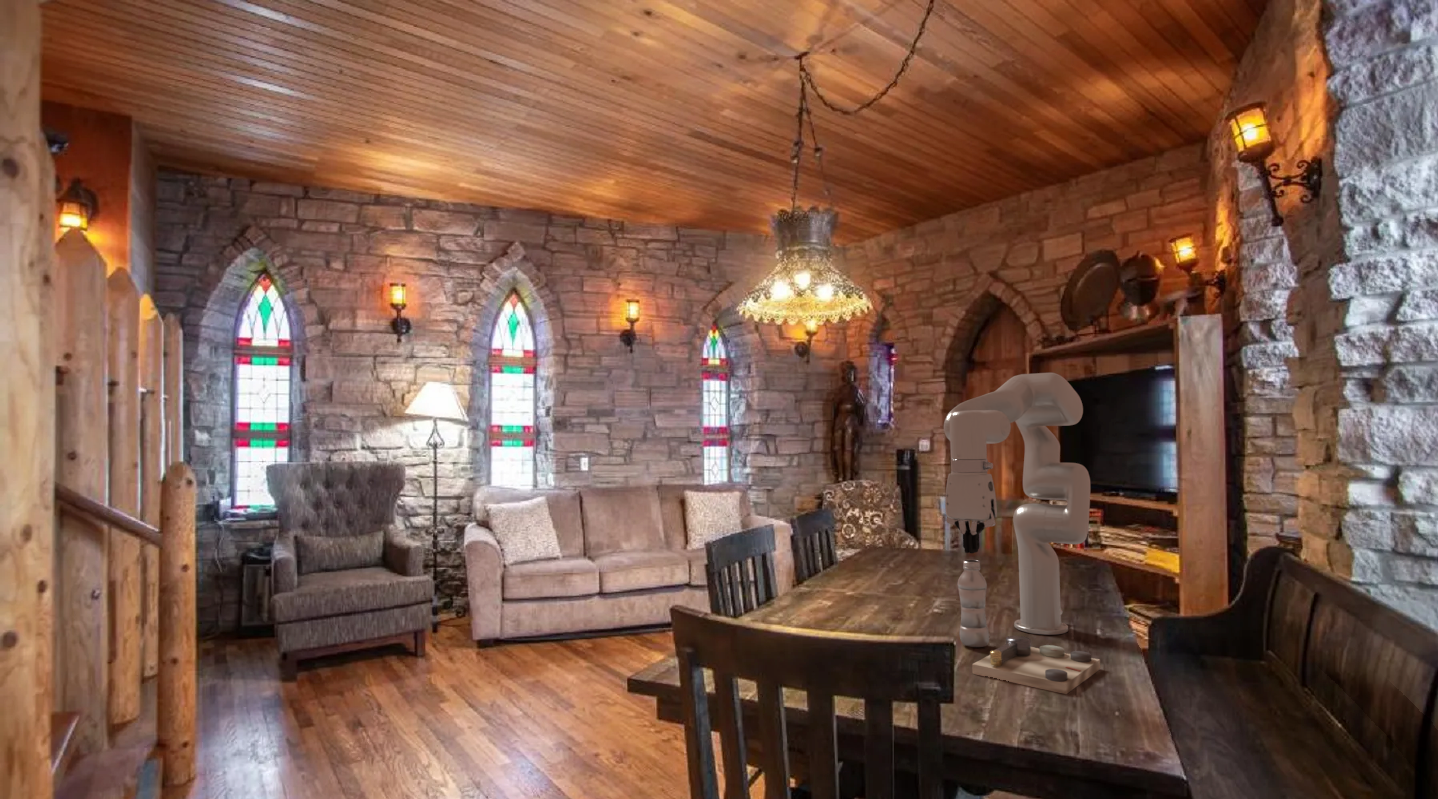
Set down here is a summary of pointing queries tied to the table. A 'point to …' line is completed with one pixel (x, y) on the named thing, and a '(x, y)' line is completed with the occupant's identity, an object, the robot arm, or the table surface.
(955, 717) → the table surface
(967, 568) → the plastic bottle
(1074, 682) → the plate
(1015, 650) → the grey lever handle
